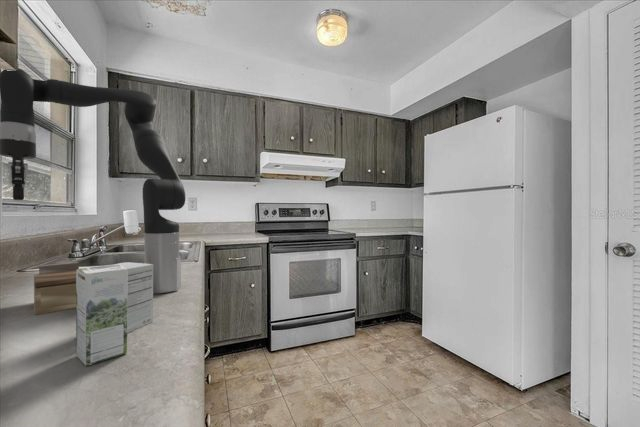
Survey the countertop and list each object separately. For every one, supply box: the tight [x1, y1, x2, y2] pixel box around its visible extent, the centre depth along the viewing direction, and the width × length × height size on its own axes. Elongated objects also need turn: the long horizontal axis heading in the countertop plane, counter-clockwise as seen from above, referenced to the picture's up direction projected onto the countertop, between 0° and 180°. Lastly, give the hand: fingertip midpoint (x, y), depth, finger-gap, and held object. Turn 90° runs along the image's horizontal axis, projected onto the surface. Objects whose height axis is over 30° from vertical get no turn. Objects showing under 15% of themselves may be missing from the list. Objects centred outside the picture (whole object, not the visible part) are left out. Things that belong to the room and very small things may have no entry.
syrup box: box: [75, 263, 128, 367], centre depth 49 cm, size 6×6×14 cm
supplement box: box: [112, 261, 154, 334], centre depth 61 cm, size 7×7×13 cm
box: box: [33, 282, 76, 316], centre depth 75 cm, size 12×10×6 cm
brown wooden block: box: [33, 261, 80, 287], centre depth 76 cm, size 14×10×3 cm
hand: (18, 199), depth 87 cm, fingers closed
